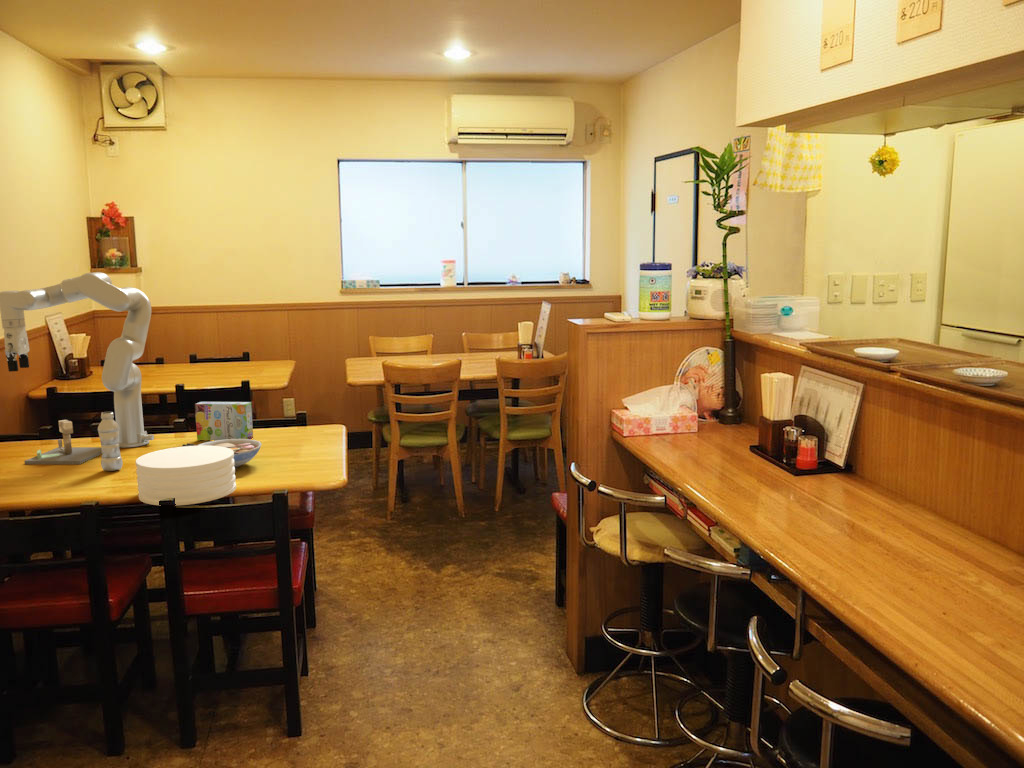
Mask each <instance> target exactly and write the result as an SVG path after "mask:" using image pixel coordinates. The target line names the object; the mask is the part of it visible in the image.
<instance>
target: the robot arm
mask: <svg viewBox="0 0 1024 768" xmlns="http://www.w3.org/2000/svg"><path fill="white" fill-rule="evenodd" d="M87 299H90V300H92V301H94V302H95V303H97V304H99V305H101V306H104V307H105V308H107V309H109V310H111V311H114V312H121V313H122V312H125V311H127V315H126V317H125V320H124V323H123V329H122V332H121V334H120V335H121V336H120V337H117V338H115V339H114V340H112V341H111V342H110V343H109V345H108V347H107V349H106V354H105V358H104V363H103V368H102V372H101V373H102V374H101V381H102V384H103V387H105V388H106V389H107V390H108V391H110V392H113V405H114V406H113V408H114V417H115V422H116V423H117V424H118V426H119V449H121V448H123V449H124V448H125V449H126V448H136V447H142V446H145V445H148V444H149V443H150V441H154V439H155V435H154V434H152V433H150V434H148V432H147V430H145V428H144V417H143V416H144V415H143V414H144V413H143V405H142V404H143V401H142V371H141V369H140V368H139V366H138V365H137V364H135V363H133V361H136V360H138V359H140V358H141V357H142V356H143V354H144V352H145V347H146V342H147V339H148V332H149V327H150V323H151V318H152V317H151V316H152V304H151V301H150V299H149V297H148V296H147V295H146V293H144V292H143V291H142V290H141V289H139V288H137V287H136V288H135V287H133V286H126V287H118V286H115V285H114V284H113V282H112V279H111V277H110V276H109V275H108V274H107V273H104V272H102V271H96V272H86V273H84V274H81V276H80V275H79V276H76V277H71V278H66V279H63V280H62V281H61V282H60V283H57V284H55V285H50V286H47V287H41V288H34V289H27V290H26V289H25V290H20V291H19V290H3V291H0V319H1V320H0V321H1V327H2V328H1V329H3V339H4V353H5V357H6V361H7V367H8V368H7V369H8V372H9V373H11V372H19V368H20V369H25V368H27V369H28V368H30V362H29V361H30V360H29V352H30V343H29V337H28V333H27V328H26V320H25V318H26V317H25V311H34V310H35V311H36V310H42V309H46V308H48V309H49V308H52V307H55V306H59V305H62V304H63V305H64V304H67V303H68V304H69V303H74V302H78V301H83V300H87ZM18 356H19V357H18ZM17 357H18V360H17ZM18 362H19V365H18Z"/></svg>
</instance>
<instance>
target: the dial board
mask: <svg viewBox="0 0 1024 768" xmlns="http://www.w3.org/2000/svg"><path fill="white" fill-rule="evenodd" d="M62 448H64V446H62ZM100 454H102V447H95V446H93V447H91V446H90V447H88V446H85V447H84V446H83V447H79V446H78V447H77V446H76V447H74V446H72V453H71V454H65V452H64V451H62V450H59V446H58V447H55V448H52V449H51V450H48V451H45V452H43V453H42V449H38V450H37V451H36V456H33V457H31V458H28V459H25V460H24V461H23V462H24V465H81V463H82V464H84V463H86V462H88V461H87V460H89V461H90V459H91V460H92V458H93V459H95V458H97V457H99V455H100ZM96 456H97V457H96ZM100 456H101V455H100ZM94 457H95V458H94ZM85 461H86V462H85ZM83 462H84V463H83Z"/></svg>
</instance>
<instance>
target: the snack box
mask: <svg viewBox="0 0 1024 768" xmlns="http://www.w3.org/2000/svg"><path fill="white" fill-rule="evenodd" d="M252 409H253V408H252V401H199V402H197V403H194V413H195V426H196V427H195V428H196V429H195V430H196V440H214V441H216V440H225V439H252V438H253V439H254V428H253V410H252Z"/></svg>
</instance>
